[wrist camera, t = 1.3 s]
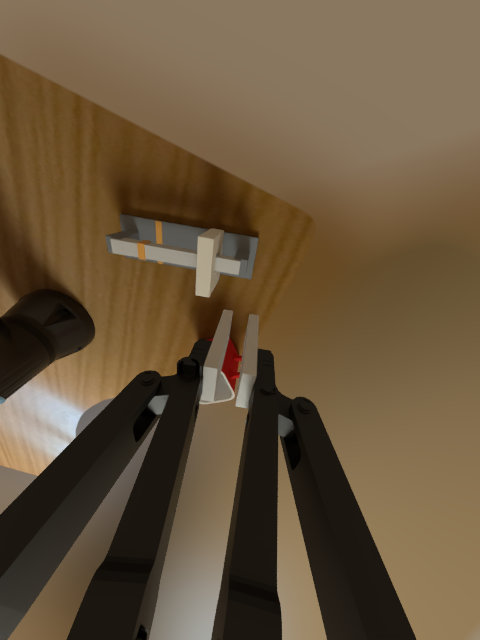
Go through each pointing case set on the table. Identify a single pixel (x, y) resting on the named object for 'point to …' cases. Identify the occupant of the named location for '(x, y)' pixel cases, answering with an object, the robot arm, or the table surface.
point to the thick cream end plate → (208, 261)
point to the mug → (227, 375)
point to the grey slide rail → (180, 245)
